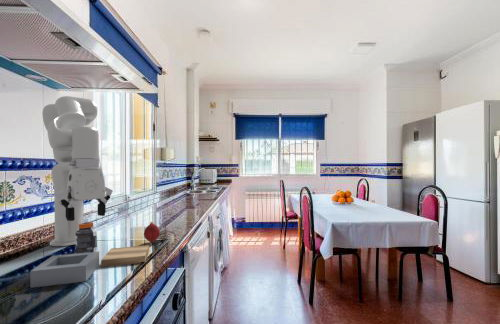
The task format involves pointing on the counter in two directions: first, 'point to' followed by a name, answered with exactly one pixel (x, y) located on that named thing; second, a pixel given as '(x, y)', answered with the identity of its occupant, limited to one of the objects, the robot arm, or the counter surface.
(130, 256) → the pad
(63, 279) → the socket collar
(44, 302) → the counter surface
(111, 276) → the counter surface
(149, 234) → the onion
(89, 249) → the pill bottle
